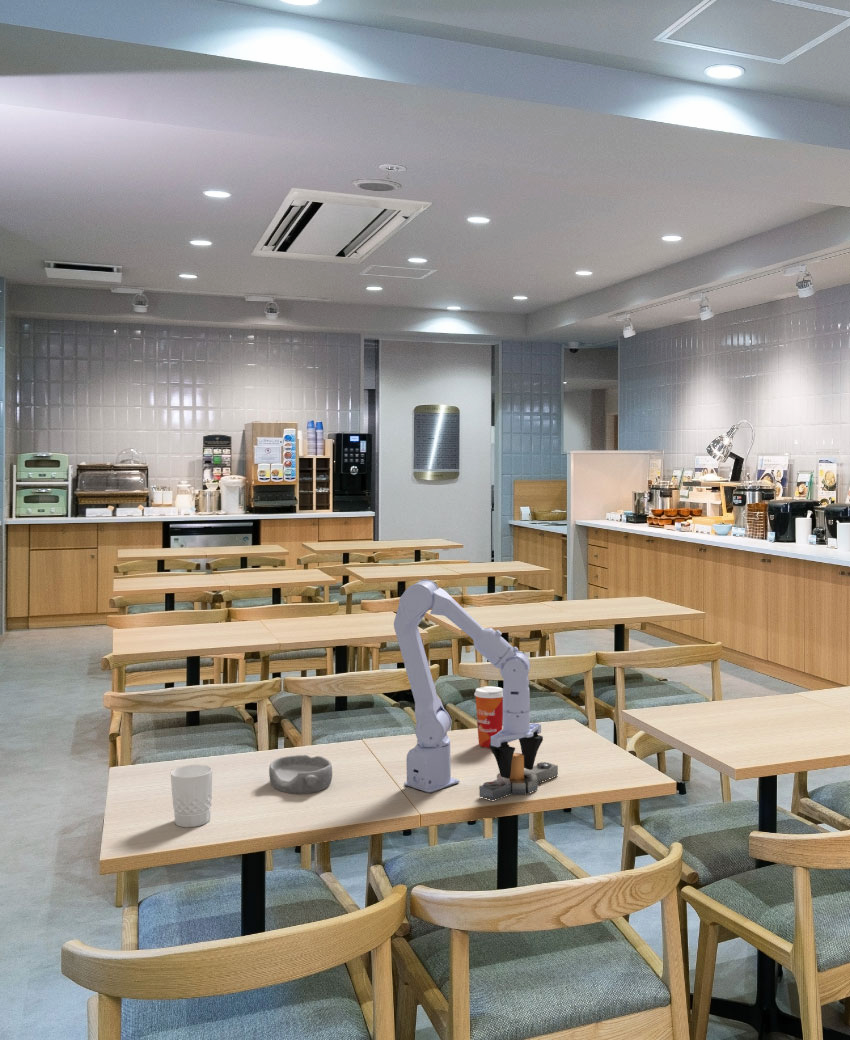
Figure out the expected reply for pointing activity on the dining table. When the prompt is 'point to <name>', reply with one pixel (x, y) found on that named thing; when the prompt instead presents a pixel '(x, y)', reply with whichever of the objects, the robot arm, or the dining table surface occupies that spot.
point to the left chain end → (501, 789)
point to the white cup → (191, 794)
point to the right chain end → (533, 775)
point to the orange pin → (517, 767)
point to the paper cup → (488, 713)
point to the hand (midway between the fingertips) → (516, 772)
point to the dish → (300, 774)
